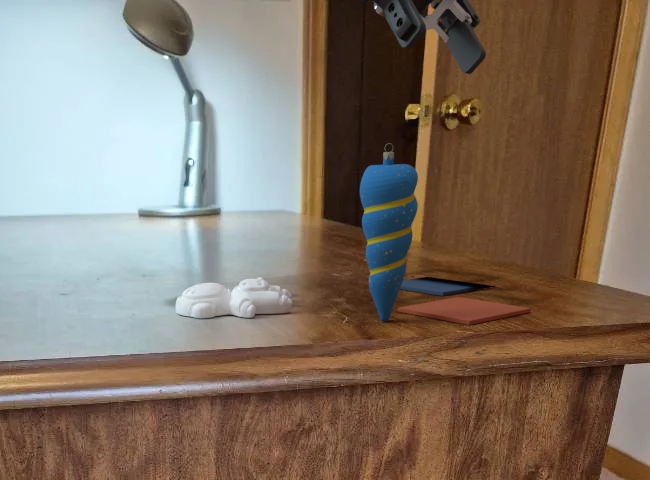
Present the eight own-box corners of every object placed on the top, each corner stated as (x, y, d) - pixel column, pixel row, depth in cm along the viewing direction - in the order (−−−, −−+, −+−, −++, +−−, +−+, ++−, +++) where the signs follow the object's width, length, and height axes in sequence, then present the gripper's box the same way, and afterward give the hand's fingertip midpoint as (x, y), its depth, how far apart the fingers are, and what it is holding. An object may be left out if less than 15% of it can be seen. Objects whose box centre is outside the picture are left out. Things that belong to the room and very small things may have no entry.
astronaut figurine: (290, 318, 76) (291, 286, 75) (169, 319, 78) (167, 287, 76) (294, 302, 84) (294, 272, 83) (184, 303, 85) (182, 274, 84)
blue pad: (436, 278, 97) (436, 275, 97) (496, 286, 90) (496, 283, 90) (383, 286, 92) (383, 283, 92) (442, 296, 86) (443, 292, 85)
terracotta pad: (458, 300, 83) (458, 296, 83) (530, 312, 76) (531, 308, 76) (397, 311, 78) (397, 307, 78) (469, 325, 72) (469, 320, 72)
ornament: (415, 326, 72) (428, 142, 65) (358, 327, 72) (365, 143, 65) (404, 315, 76) (415, 142, 70) (351, 316, 76) (357, 144, 70)
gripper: (340, -165, 62) (427, -14, 59) (447, -99, 72) (527, 36, 68) (286, -73, 68) (361, 71, 64) (391, -22, 77) (462, 107, 73)
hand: (447, 53), depth 66 cm, fingers open, 8 cm apart
